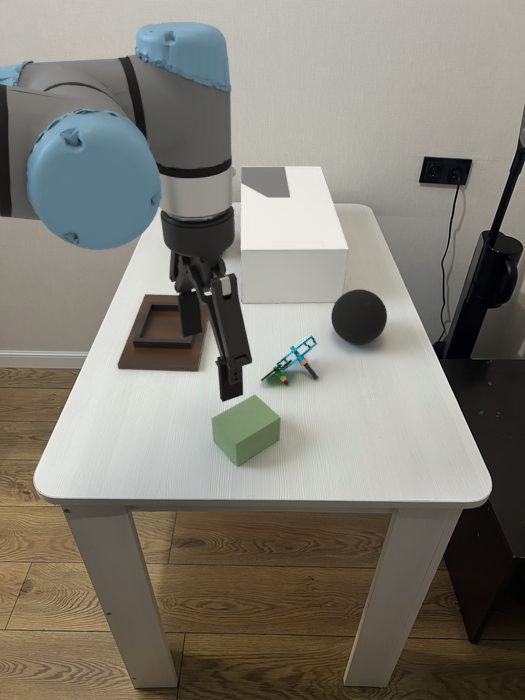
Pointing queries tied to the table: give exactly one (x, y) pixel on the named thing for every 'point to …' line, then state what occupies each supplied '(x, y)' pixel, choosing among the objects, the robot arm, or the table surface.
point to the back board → (162, 338)
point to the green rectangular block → (246, 429)
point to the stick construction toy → (300, 359)
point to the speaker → (359, 316)
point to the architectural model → (290, 237)
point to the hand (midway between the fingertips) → (210, 362)
